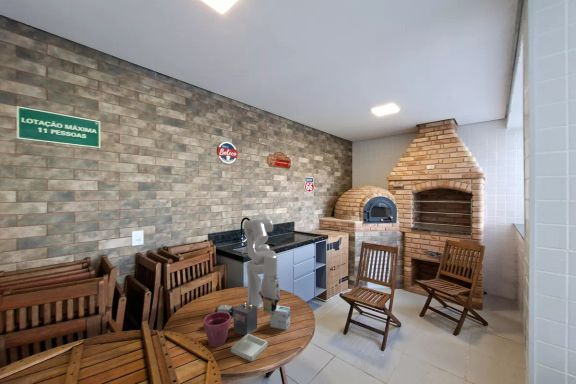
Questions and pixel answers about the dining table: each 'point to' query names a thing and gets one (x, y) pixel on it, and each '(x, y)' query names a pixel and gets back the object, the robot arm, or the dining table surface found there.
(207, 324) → the plant pot
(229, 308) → the pneumatic valve
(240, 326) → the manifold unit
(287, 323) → the light bulb box
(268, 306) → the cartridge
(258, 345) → the tray
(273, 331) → the dining table surface
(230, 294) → the dining table surface
